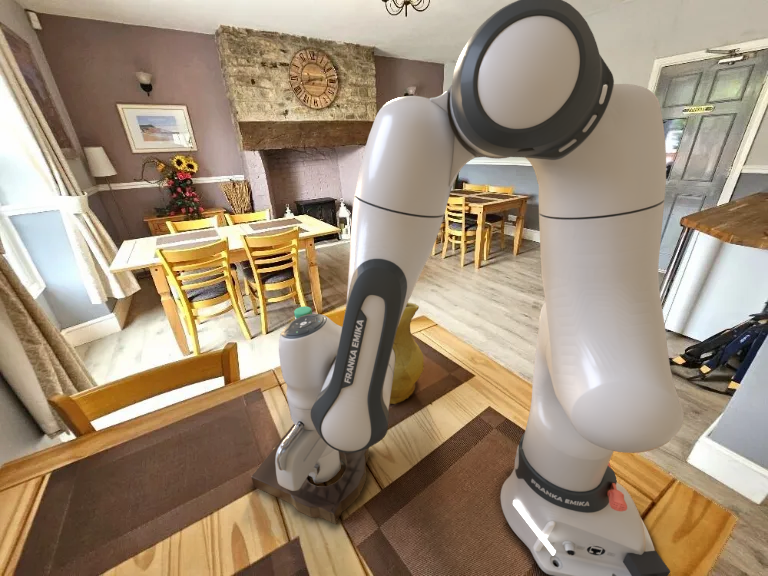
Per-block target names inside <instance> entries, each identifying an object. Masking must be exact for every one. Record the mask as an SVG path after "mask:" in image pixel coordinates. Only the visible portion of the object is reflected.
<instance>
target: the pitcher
mask: <svg viewBox="0 0 768 576" xmlns="http://www.w3.org/2000/svg"><path fill="white" fill-rule="evenodd" d="M419 309H420V308H419V305H417V304H416V303H413V302H408V303H407V305H406V308H405V310H404V312H403V315H402V317H401V320H400V323H399V325H398V329H397V332H396V336H395V340H394V344H393V349H394V352H395V356H396V361H395V368H394V375H393V382H392V389H391V396H390V403H389V405H393V404H394V405H396V404H399V403H402V402H405V400H406V399H409V397H410V396H412V395H413V394H414V392H415V389H416V382H417V381H418V380H419V379H420V378H421V376H422V373H423V372H424V370H425V369H424V368H425V365H424V364H425V362H424V360H425V359H424V355H423V352H422V350H421V347H420V346H419V345H418V343H417V342H416V341H415V339H414V337H413V336H412V332H411V323H412V319H413V318H414V316H415V315H416V313H417V311H418V310H419Z"/></svg>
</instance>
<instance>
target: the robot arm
mask: <svg viewBox="0 0 768 576" xmlns="http://www.w3.org/2000/svg"><path fill="white" fill-rule="evenodd" d="M666 148H667V147H666V136H665V128H664V119H663V113H662V108H661V104H660V101H659V99H658V97H657V95H656V94H654V92H653V91H651V90H650V89H649V88H647V87H645V86H640V85H638V84H630V83H615V79H614V75H613V73H612V71H611V69H610V68H609V66H608V65H607V63H606V62H605V60H604V58H603V57H602V55H601V54H600V51H599V47H598V44H597V41H596V37H595V35H594V33H593V31H592V29H591V27H590V26H589V24H588V22H587V20H586V19H585V18H584V16H583V15H582V14H581V13H580V11H578V10H577V9H576V8H575V6H573V5H571V4H570V3H568V2H567V1H565V0H515V1H513V2H511V3H508V4H507V5H505V6H503V7H502V8H500V9H499V10H497V11H495V12H494V13H493V14H492V15H490V16H489V17H488V18H486V20H485V21H484V22H482V23H481V24H480V26H479V27H478V28H477V29H476V30H475V31H474V33H472V35H471V36H470V37H469V39H468V41H467V42H466V44H465V45H464V47H463V49H462V50H461V52H460V55H459V57H458V59H457V62H456V65H455V67H454V71H453V75H452V79H451V84H450V86H449V87H448V89H447V90H445V91H444V92H443V93H442V94H440V95H438V96H435V97H429V98H428V97H425V96H419V95H406V96H401V97H397V98H394V99H391V100H390V101H387V102H386V103H384V104H383V105H382V107H380V109H379V111H378V112H377V113H376V116H375V118H374V121H373V123H372V126H371V128H370V131H369V134H368V137H367V141H366V144H365V147H364V150H363V154H362V157H361V162H360V165H359V171H358V174H357V179H356V185H355V191H354V197H353V204H352V211H351V224H350V235H349V237H350V239H349V258H348V259H349V262H348V274H347V294H346V306H345V310H344V315H343V321H342V325H339V324H337V323H335V322H334V321H333V320H332V319H331V318H330V317H328V316H327V315H325V314H323V313H322V314H321V313H312V314H308V315H304V316H301V317H299V318H297V319H295V318H294V319H293V320H291V321H290V322H289V323H288V324H287V325H286V326H284V328H283V329H282V331H281V332H280V334H279V338H278V359H279V364H280V365H279V366H280V371H281V376H282V379H283V380H284V383H285V384H286V399H287V405H288V409H289V414H290V418H291V419H290V420H291V421H292V423H293V424H295V427H294V428H293V429H292V430H291V432H290V433H289V434H288V435H287V437H286V438H285V439H284V440H283V442H282V443H281V445H280V446H279V448H278V450H277V453H276V459H275V463H276V475H277V481H278V484H279V485H281V486H282V487H284V488H286V489H288V490H291V491H296V490H299V489H300V488H301V486H302V484H303V483H304V481H305V480H306V479H308V477H311V478H312V477H313V478H316V477H317V475H318V473H319V472H320V465H318V464H316V463H317V461H318V459H319V458H320V456H321V455H322V453H323V452H324V450H325V449H326V447H327V445H329V446H330V447H331V448H333V449H335V450H337V451H340V452H344V453H355V452H359V451H362V450H365V449H367V448H369V449H370V448H371V447H373V446H374V445H376V444H377V443H379V442H380V441H382V440H383V439H384V438H385V436H386V435H387V433H388V429H389V418H390V417H389V416H390V412H389V409H390V404H389V403H390V396H391V389H392V382H393V375H394V368H395V361H396V356H395V352H394V349H393V344H394V340H395V336H396V332H397V329H398V325H399V323H400V320H401V317H402V315H403V312H404V310H405V308H406V305H407V303H409V301H410V298H411V296H412V294H413V292H414V290H415V287H416V285H417V283H418V281H419V279H420V277H421V274H422V273H423V270H424V268H425V266H426V264H427V262H428V259H429V258H430V255H431V253H432V251H433V248H434V247H435V246H434V245H435V243H436V241H437V238H438V236H439V233H440V230H441V227H442V223H443V221H444V217H445V213H446V210H447V206H448V202H449V198H450V195H451V192H452V188H453V186H454V183H455V181H456V179H457V177H458V175H459V174H460V172H461V170H462V169H463V168H464V166H466V165H467V163H469V162H470V161H472V160H473V159H475V158H488V159H498V160H499V159H500V160H501V159H509V158H524V159H527V160H528V162H529V163H530V165H531V166H532V168H533V171H534V173H535V177H536V182H537V184H538V222H539V223H538V226H539V247H540V249H539V250H540V251H539V252H540V272H541V273H540V274H541V280H542V281H541V282H542V288H543V294H544V303H543V304H542V305H541V309H540V312H539V319H538V329H537V337H536V344H535V345H536V346H535V353H534V364H533V374H532V385H531V386H532V387H531V399H530V400H531V401H530V407H529V412H528V417H527V421H526V426H525V430H524V433H523V434H522V435H521V437H520V439H519V443H518V445H517V448H516V452H515V457H514V467H513V470H512V472H511V473H510V475H509V476H508V477H507V478H506V479H505V481H504V482H503V484H502V486H501V489H500V497H499V498H500V506H501V510H502V513H503V516H504V517H505V521H506V522H507V524H508V525H509V527H510V529H511V530H512V531H513V532H514V534H515V535H516V536H517V537H518V538H519V539H520V540H521V542H522V543H524V545H525V546H526V547H527V548H528V549H529V551H530V553H531V555H532V556H533V559H534V560H535V562H536V564H537V565H538V567H539V568H540V569H541V571H542V572H544V573H545V574H547V575H549V576H669V575H670V574H671V569H669V567H668V566H667V565H666V563H665V562H664V560H663V559H662V557H661V556H660V555H659V553H658V552H657V551H656V550H655V549H656V548H655V546H654V543H653V540H652V538H651V535H650V532H649V530H648V528H647V527H646V524H645V523H644V520H643V519H642V517H641V514H640V511H639V510H638V507H637V505H636V503H635V500H634V499H633V497H632V496H631V493H629V492H628V490H627V489H626V488H625V487H624V486H623V485H622V484H621V483H619V482H618V479H617V475H616V473H615V471H614V470H613V468H612V466H611V462H610V461H611V459H612V456H613V454H614V452H616V453H622V454H623V453H624V454H639V453H645V452H646V453H647V452H650V451H654V450H656V449H658V448H661V447H663V446H665V445H667V444H668V443H669V442H671V441H672V440H673V439H674V438H676V436H677V435H678V434H679V433H680V431H681V429H682V428H683V425H684V420H685V414H684V413H685V412H684V410H683V406H682V404H681V401H680V396H679V394H678V391H677V388H676V384H675V380H674V376H673V374H672V369H671V364H670V356H669V350H668V339H667V332H666V325H665V318H664V312H663V306H662V299H661V292H660V291H661V290H660V282H659V281H660V279H659V278H660V277H659V265H660V264H659V263H660V253H661V240H662V230H663V219H664V209H665V199H666V186H667V149H666ZM556 565H557V566H556Z"/></svg>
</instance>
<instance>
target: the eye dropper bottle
mask: <svg viewBox="0 0 768 576" xmlns="http://www.w3.org/2000/svg"><path fill="white" fill-rule="evenodd" d="M316 464H318V465H320V472H319V473H318V475H317V477H316V478H313V477H311V479H312V480H313V481H312V482H314V484H323V483H326V482H328V481H330V480H332V479H333V478H334V477H336V475H337V474H338V473H339V472H340V471H341V467H342V466H341V459H340V457H339V451H337V450H335V449H333V448H331V447H330V446H329V445H327V447H326V449H325V450H324V452H323V453H322V455H321V456H320V458H319V459H318V461H317V463H316Z"/></svg>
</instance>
